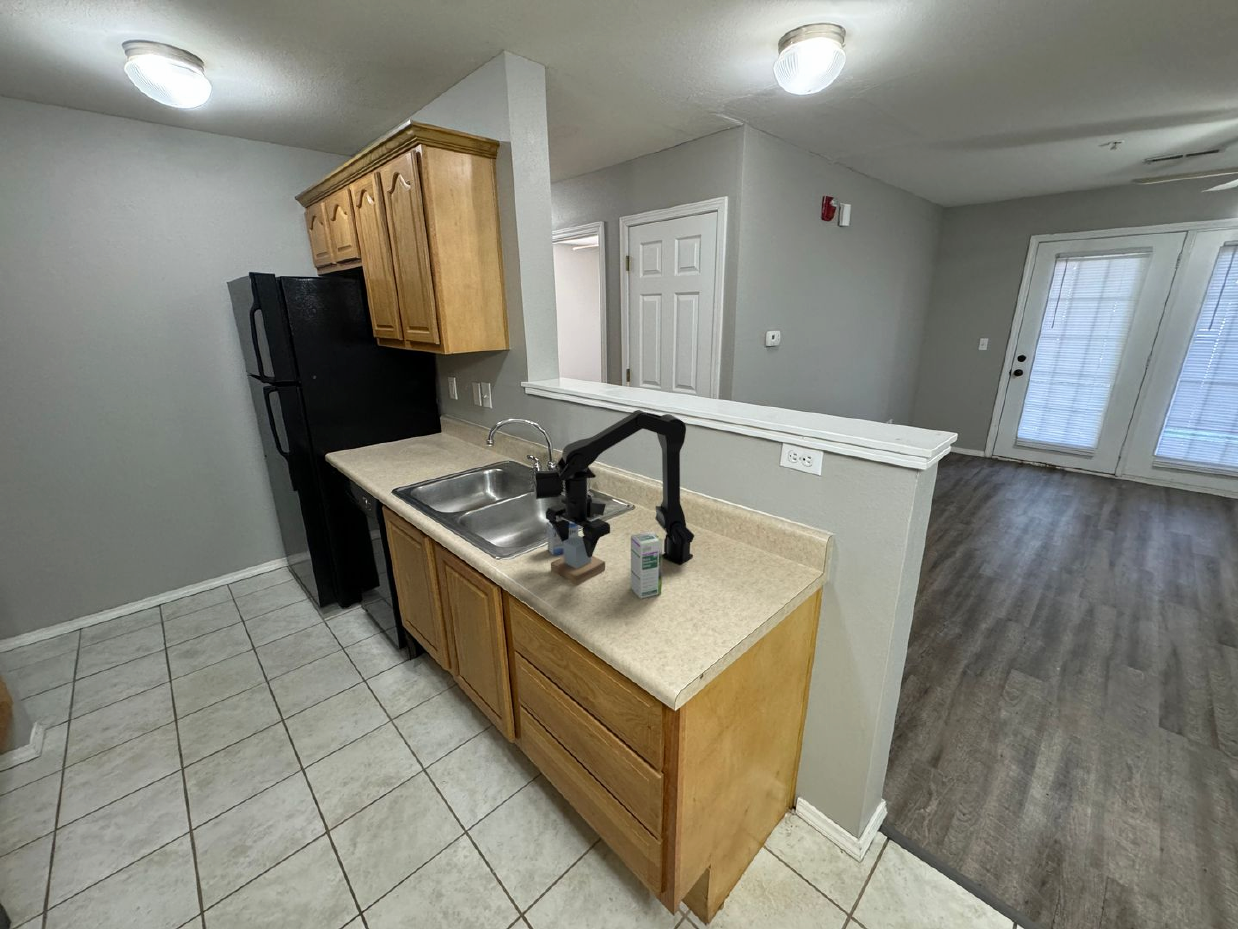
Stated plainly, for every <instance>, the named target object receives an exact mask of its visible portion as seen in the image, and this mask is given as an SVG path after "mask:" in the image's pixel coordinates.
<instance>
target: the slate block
mask: <svg viewBox="0 0 1238 929" xmlns="http://www.w3.org/2000/svg"><path fill="white" fill-rule="evenodd" d="M563 550H564V553H563V557H564V562H565V563H566V564H568V565H570V566H572V567H574V568H576V569H577V568H579V567H582V566H584V565H586V564H588V563H590V562H591V557H590V558H589V557H588V556H587V553H586V550H585V546H584V542H583V538H582V535H579V534H578V535H577V536H575V537H572V538H570V539H567V540H565V541H563Z"/></svg>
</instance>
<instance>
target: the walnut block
mask: <svg viewBox="0 0 1238 929" xmlns="http://www.w3.org/2000/svg"><path fill="white" fill-rule="evenodd" d="M605 571H606V561H604V560H602V559H600V558H597V557H596V556H594V555H592V557H591V562H590V563H588V564H586V565H584V566H582V567H579V568H577V569H576V568H574V567H572V566H570V565H568V564H566V563H565V562H564V556H562V557H560V558H558V559H556V560H554V561H551V562H550V572H551V573H553V574H556V575H557V576H559V577H561V578H562V579H565V580H566V581H569V583H572V584H575V585H576V586H578V585H580V584H582V583H584V582H586V581H588V580H589V579H591V578H594V577H595V576H597V575H599V574H601V573H603V572H605Z"/></svg>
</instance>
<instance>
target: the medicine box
mask: <svg viewBox="0 0 1238 929" xmlns="http://www.w3.org/2000/svg"><path fill="white" fill-rule="evenodd" d="M577 535H579V525H577V524H573V523H571V522H570V524H569V539H570V538H572V537H575V536H577ZM546 536H547V540H546V541H547V550H548V552H550V553H551V555H553V556H558V555H561V554H564V550H563V543H562V541H561V539H560V537H559V536H558V534H557V532H556V531H555V529H554V528H553V526H552V524H551V523H549V521H546Z"/></svg>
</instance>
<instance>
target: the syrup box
mask: <svg viewBox="0 0 1238 929" xmlns="http://www.w3.org/2000/svg"><path fill="white" fill-rule="evenodd" d="M662 554H663V539H662V538H661V537H660V535H658V534H657V533H655V532H654V531H653V530H651V531H648V532H641V533H637V534H631V535H630V588H631V590H632V591H633V592H634V594H635V595H636V596H637V597H638V598H639V599H641V600H642V599H644V598H648V597H652V596H657V595H661V594H662V584H663V583H662V581H663V580H662V579H663V578H662V573H663V572H662V571H663V557H662Z"/></svg>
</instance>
